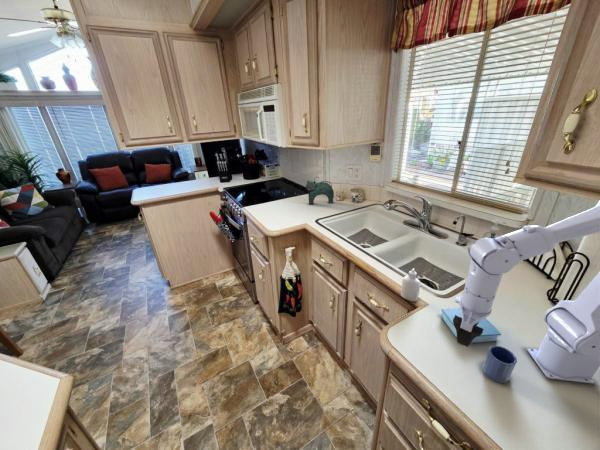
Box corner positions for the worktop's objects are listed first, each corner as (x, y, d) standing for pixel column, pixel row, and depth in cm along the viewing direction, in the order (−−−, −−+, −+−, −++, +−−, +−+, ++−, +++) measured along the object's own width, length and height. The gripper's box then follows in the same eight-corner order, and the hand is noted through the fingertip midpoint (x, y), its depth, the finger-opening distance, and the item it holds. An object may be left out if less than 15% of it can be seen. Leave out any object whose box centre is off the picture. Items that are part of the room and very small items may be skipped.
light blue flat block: (473, 313, 79) (475, 306, 78) (498, 341, 69) (501, 334, 68) (439, 316, 79) (441, 308, 78) (460, 344, 69) (462, 336, 68)
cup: (501, 364, 63) (508, 346, 61) (513, 384, 59) (522, 366, 56) (478, 362, 64) (485, 344, 62) (488, 381, 60) (496, 363, 57)
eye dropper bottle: (407, 290, 91) (411, 263, 86) (420, 300, 86) (425, 271, 81) (398, 294, 89) (402, 266, 84) (410, 304, 84) (414, 275, 79)
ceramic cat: (306, 205, 180) (305, 178, 172) (306, 202, 186) (305, 176, 177) (334, 203, 180) (334, 176, 171) (333, 200, 185) (332, 174, 177)
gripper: (467, 268, 62) (456, 309, 68) (450, 298, 53) (439, 343, 59) (502, 279, 58) (487, 322, 64) (490, 314, 49) (474, 361, 54)
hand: (466, 333), depth 61 cm, fingers open, 7 cm apart
